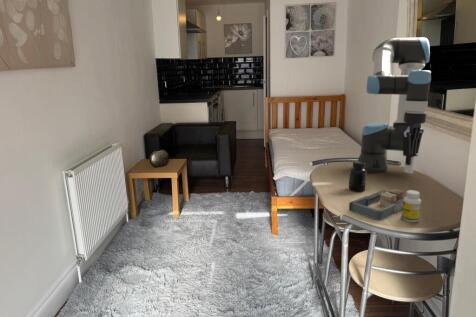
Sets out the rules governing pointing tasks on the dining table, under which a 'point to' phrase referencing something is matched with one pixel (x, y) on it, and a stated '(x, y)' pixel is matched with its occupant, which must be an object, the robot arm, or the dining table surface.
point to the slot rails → (376, 197)
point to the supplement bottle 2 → (411, 206)
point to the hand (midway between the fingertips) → (408, 172)
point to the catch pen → (370, 209)
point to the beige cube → (387, 199)
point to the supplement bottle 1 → (357, 177)
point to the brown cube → (397, 194)
